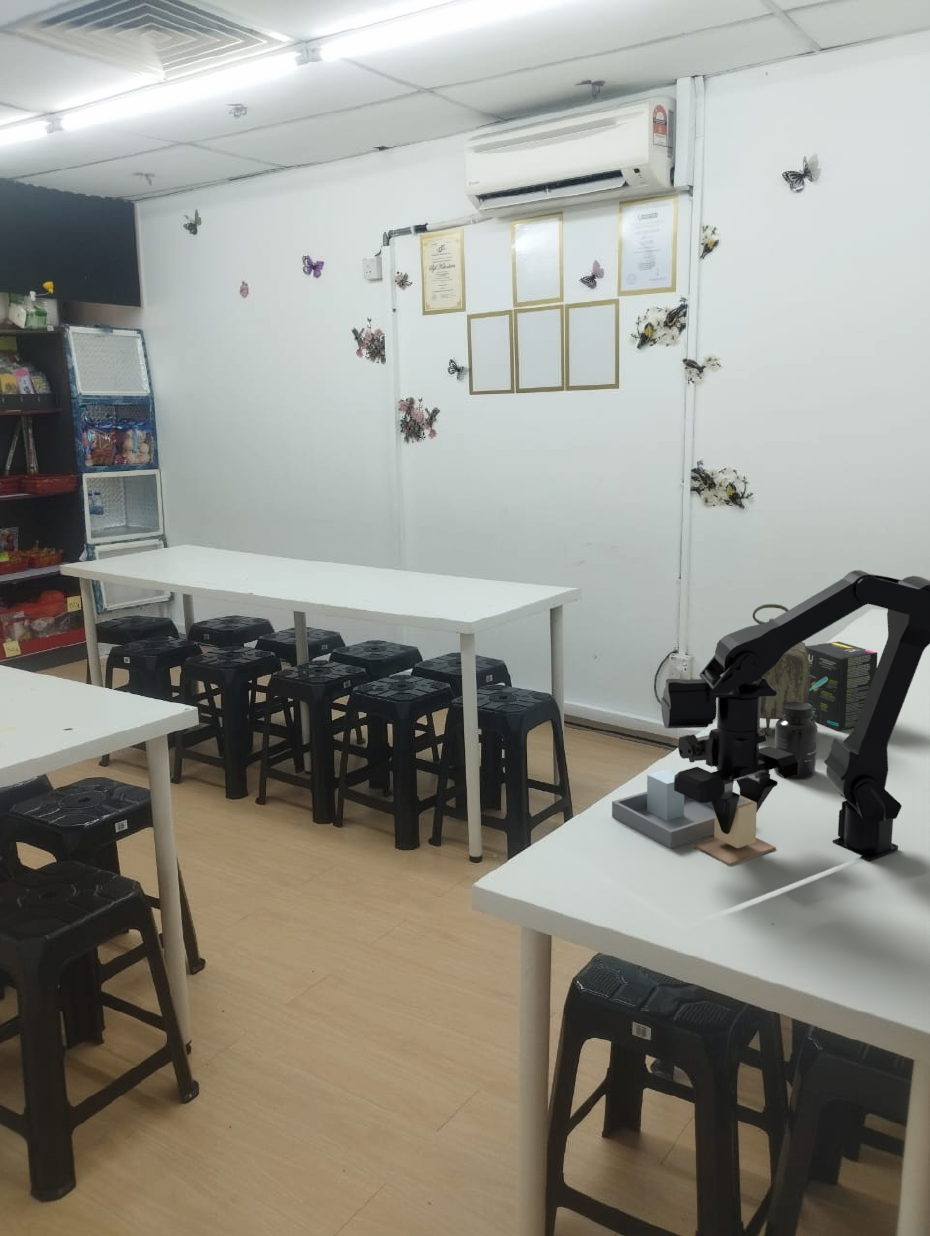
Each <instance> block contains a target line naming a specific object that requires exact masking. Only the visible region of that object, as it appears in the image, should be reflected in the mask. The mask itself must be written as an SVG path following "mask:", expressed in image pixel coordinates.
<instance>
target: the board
mask: <svg viewBox="0 0 930 1236" xmlns="http://www.w3.org/2000/svg"><path fill="white" fill-rule="evenodd" d="M693 848H694V849H696V850H699V851H700V852H702V853H704V854H706V855H707V856H709V857H712V858H713V859H715V860H717V861H719V862H721V863H723V864H725V865H727V866H728V867H731V866H734V865H736V864H739V863H742V862H745V861H747V860H750V859H752V858H755V857H759V856H761V855H764V854H767V853H769V852H772V851H775V850H776V849H777V848H776V846H774V845H772V844H771V843H769V842H765V841H764V840H761V839H760V838H758V837H756V841H755V842H754V843H752V844H749V845H746V846H743V847H740V848H736V847H734V846H732V845H730V844H728V843H726V842H724V841H722V840H720V839H718V838H716V837H713V838H709V839H707V840H704V841H701V842H698V843H695V844H693Z"/></svg>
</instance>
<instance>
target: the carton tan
mask: <svg viewBox="0 0 930 1236" xmlns="http://www.w3.org/2000/svg"><path fill="white" fill-rule="evenodd" d="M739 795H740V794H739ZM757 813H758V812H757V802H754V801H752V800H750V799H748V798H745V797H743V796H741V795H740V797H739V801H738V805H737V808H736V812H735V816H734V820H733V824H732V827H731V830H730V832H729V834H725V833H723V832H722V830H721V828H720V825H719V822H718V819H717V816H716V814H715V827H714V834H713V836H714V837H713V838H715V837H716V838H718V839H720V840H722V841H724V842H726V843H728V844H730V845H732V846H734V847H736V848H740V847H743V846H746V845H749V844H752V843H754V842H755V841H756V838H757V837H756V835H757V834H756V833H757Z"/></svg>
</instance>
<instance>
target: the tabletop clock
mask: <svg viewBox="0 0 930 1236" xmlns="http://www.w3.org/2000/svg"><path fill="white" fill-rule="evenodd" d="M770 608H771V609H781V610H783V611H784V612H787V611H789V610H790V609H789V608H787V607H786V606H783V605H782V604H776V603H774V604H773V603H772V604H771V603H768V604H762V605H759V606H758V607H756V608H755V609H754V611H753V612H752V619H753V620H754V622H756V624H757V625H759V624H763V623H766V621H763V620H762V621H761V620H759V619H757V618H756V614H757V612H759V611H760V610H763V609H770ZM773 619H774V618H769V620H768V622H769V621H771V620H773ZM806 646H807V645H806V644H805V642H804V641H803V642H801V643H799V644H797V645H796V646H794V647H792V648H791V649H790V650H789V651H788V652H786V653H785V654H784V656H783V657H782V658H781V660H780V661H779V662H778V664H777V665H776V666H775V667H773V668H772V669H771V670H770V671H769V672H767V673H766V674H765V675H764V676H763V677H764V678H765V679H766V681H767V683H768V684H769V685H770V686H771V687H772V688H773V689H774V690H775V691H776V692H777V695H776V696H764V697H761V705H760V719H761V720H762V719H763V720H765V724H766V725H765V727H764V728H763V729H762V733H763V734H766V736H771V735H772V733H773V729H772V727H770V725H771V720H779V719H781V718H783V716H782V706H783V704H784V703H787V702H801V703H806V704H807V703H808V698H809V690H810V667H809V657H808V651H807V648H806Z"/></svg>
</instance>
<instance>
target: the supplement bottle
mask: <svg viewBox="0 0 930 1236" xmlns="http://www.w3.org/2000/svg"><path fill="white" fill-rule="evenodd" d="M782 716H783V718H781V719H777V721H776V723H775V728H774V729H775V730H774V746H773V747H774V748H777V749H780V750H783V751H785V752H788V753H791V754H793V755H794V757H795V758H796V760H797V762H798V772H797V775H794V776H791V777H787V778H788V779H796V780H802V779H808V778H811V777H813V776H814V775H815V772H816V763H817V762H816V761H817V749H818V748H817V745H818V726H817V724H816V722H815V721H812V720H811V718H812V706H811V705H809V704H806V703H801V702H787V703H784V704H783V706H782ZM773 770H774V772H775V774H777V775H779V774H778V768H774V769H773ZM787 778H786V779H787Z"/></svg>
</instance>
